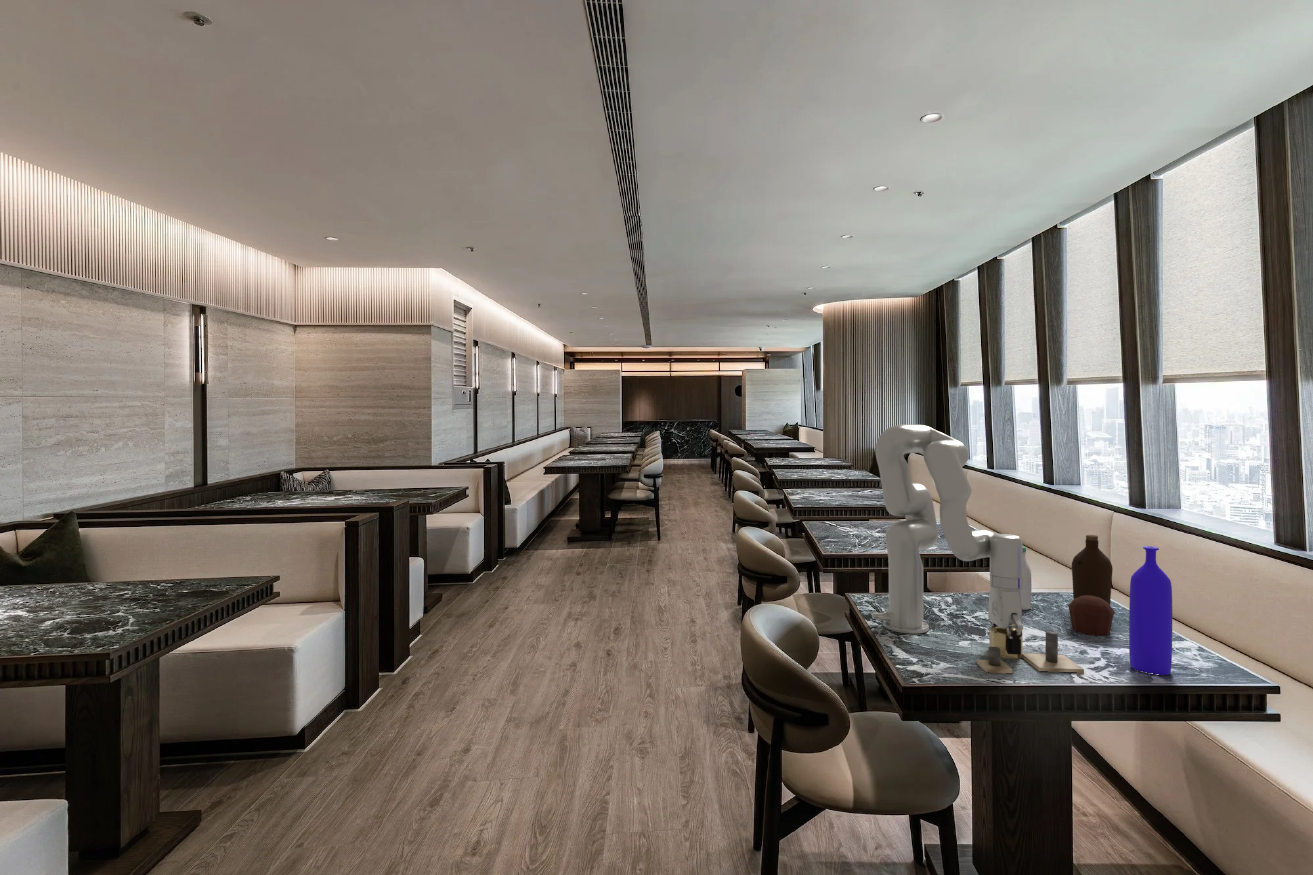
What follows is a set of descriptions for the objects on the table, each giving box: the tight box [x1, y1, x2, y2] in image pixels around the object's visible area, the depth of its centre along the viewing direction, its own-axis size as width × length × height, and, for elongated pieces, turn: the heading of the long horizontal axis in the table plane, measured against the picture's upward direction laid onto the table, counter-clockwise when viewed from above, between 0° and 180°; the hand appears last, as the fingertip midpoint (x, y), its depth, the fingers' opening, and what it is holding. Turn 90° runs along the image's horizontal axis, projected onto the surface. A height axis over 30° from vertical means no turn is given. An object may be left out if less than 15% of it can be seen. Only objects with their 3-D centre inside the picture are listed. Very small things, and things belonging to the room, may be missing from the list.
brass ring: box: [988, 627, 1024, 660], centre depth 167 cm, size 7×7×6 cm
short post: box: [976, 646, 1014, 674], centre depth 157 cm, size 6×6×5 cm
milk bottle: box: [1020, 546, 1033, 611], centre depth 210 cm, size 8×8×20 cm
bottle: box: [1128, 545, 1173, 676], centre depth 156 cm, size 8×8×30 cm
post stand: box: [1020, 630, 1085, 674], centre depth 159 cm, size 10×10×8 cm
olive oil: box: [1071, 534, 1114, 606], centre depth 201 cm, size 11×11×25 cm
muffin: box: [1067, 595, 1116, 637], centre depth 185 cm, size 12×11×10 cm
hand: (1005, 647), depth 167 cm, fingers open, 9 cm apart
